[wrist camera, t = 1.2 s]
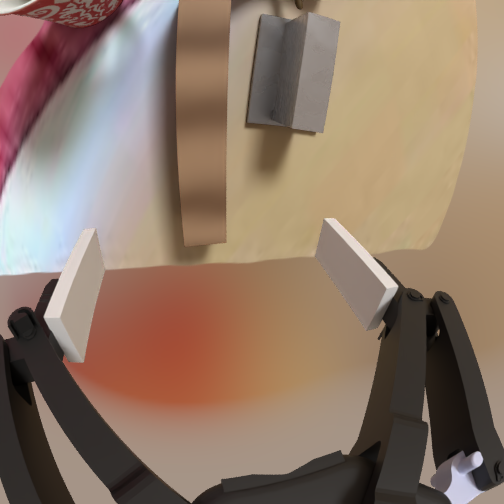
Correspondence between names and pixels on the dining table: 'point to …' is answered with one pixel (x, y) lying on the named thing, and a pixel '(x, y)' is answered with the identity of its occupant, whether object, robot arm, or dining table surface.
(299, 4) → the kendama
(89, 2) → the mug
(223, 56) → the walnut bar
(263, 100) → the fulcrum
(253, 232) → the dining table surface
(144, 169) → the dining table surface
